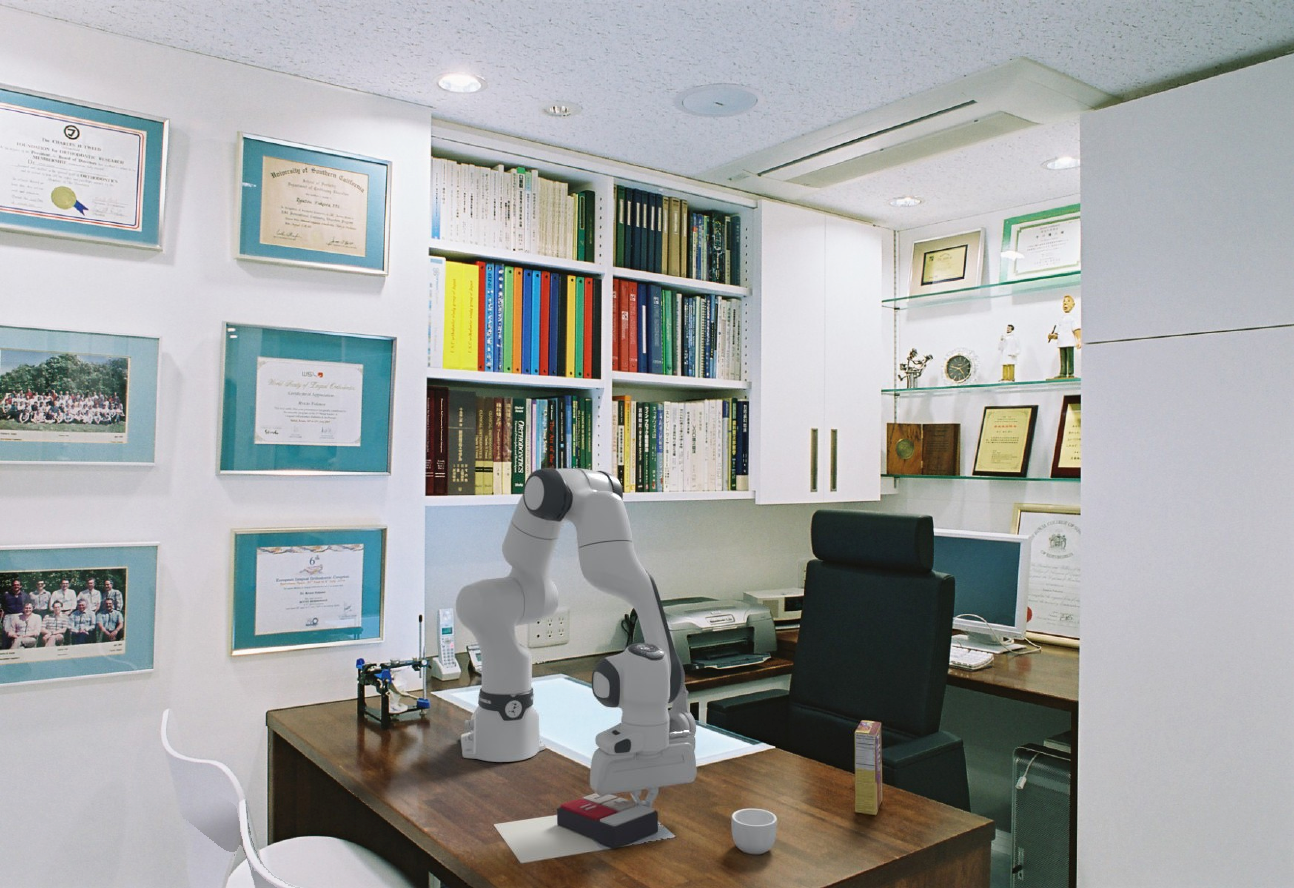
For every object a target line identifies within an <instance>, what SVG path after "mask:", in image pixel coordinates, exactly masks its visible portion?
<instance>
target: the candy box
mask: <svg viewBox="0 0 1294 888" xmlns="http://www.w3.org/2000/svg"><path fill="white" fill-rule="evenodd" d="M882 744H883V743H882V722H880V721H872V720H861V721H860V723H859V724H858V726H857V728H856V729H855V732H854V804H855V805H854V812H855V813H858V814H864V815H871V816H877V814H878V811H879V809H880V806H881V803H882V800H883V773H882V772H883V763H882V762H883V760H882V759H883V758H882V757H883V756H882V755H883V754H882V750H883V749H882V746H883V745H882Z"/></svg>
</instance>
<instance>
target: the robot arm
mask: <svg viewBox="0 0 1294 888" xmlns="http://www.w3.org/2000/svg"><path fill="white" fill-rule="evenodd" d="M623 490H624V489H623V486H622V484H621V483H620V480H619V479H618V478H617V476H615V475H613V474H612V473H609V472H606V471H602V470H594V469H587V468H579V467H573V468H553V467H545V468H539V469H537V470H534V471H532V472H531V473H530V474H529V475H528V476H527V479H526V481H525V482H524V486H523V491H522V495H521V496H520V499H519V501H518V503H517V504H516V507H515V509H514V512H513V514H512V517H511V520H510V523H509V525H508V528H507V531H506V534H505V537H504V539H503V543H502V546H501V553H502V555H503V558H504V560H505V561H506V563H508V565H510V566H511V570H510V573H509V574H508V575H507V576H506V577H505V576H504V577H497V578H495V577H494V578H486V579H481V580H478V581H474V582H472V583H469V584H467V585H465V586H463V587H462V588H461V589H460V590H459V592H458V594H457V596H456V601H455V611H456V616H457V618H458V620H459V622H460V623H461V624H462V626H464V627H465V628H466V629H468V630H469V631H470V632H471V633H472V635H473V636H474V638H475V640H476V642H477V646H478V647H479V652H480V661H481V687H480V689H479V693H478V697H477V699H478V701H477V704H478V706H477V708H475V710H474V712H472V714H471V717H470V719H469V720H468V719H467V720H464V732H465V733H462V734H461V735H460V745H461V755H462V757H463V758H465V759H477V760H481V761H486V762H493V763H495V762H496V763H503V762H504V763H505V762H506V763H508V762H509V763H510V762H518V761H523V760H527V759H529V758H530V759H531V758H533V757H534V756H535V755H537V754H538V753H540V752H541V751H543V750H546V749H547V747H546V742H543V741H542V740H541V739H540V735H541V734H540V732H541V731H540V715H539V713H540V712H538V711H537V710H536V709H535V708H534V707H533V705H534V699H535V697H534V696H535V694H534V688H533V686H532V682H533V681H532V679H533V678H532V675H533V656H532V653H531V651H530V650H529V649H528V648H527V647H526V646H525V645H524V644H522V643H520V642H518V639H517V636H516V631H515V629H516V626H525V625H529V624H536V623H538V622H541V621H542V620H545V619H548V618H550V617H552V616H554V614H555V613H556V610H557V608H558V606H559V603H560V602H559V601H560V600H559V597H560V596H559V595H560V594H559V591H558V588H557V586H556V584H555V583H554V581H553V580H552V579H551V577H550V566H551V561H552V558H553V556H554V553H555V550H556V546H557V543H558V542H559V541H558V540H559V538H560V535H561V532H562V530H563V527H564V523H565V522H571V523H572V524H573V525H574V527H575V531H576V539H577V540H576V541H577V542H576V543H577V551H578V560H579V561H578V562H579V566H580V570H581V574H582V575H583V578H584V579H585V580H586V581H587V583H589V584H590V586H592V587H593V588H595V589H597V590H599V591H600V592H603V593H605V594H608V595H611V596H614V597H616V598H619V599H622V600H623V601H625V602H626V603H628V604H629V605H630V606H631V607H632V608H633V609H634V610H635V612H636V615H637V618H638V621H639V625H640V629H641V632H642V636H643V638H644V642H638V643H637V642H636V643H632V644H629V645H628V646H626V648H625V650H624V651H623V652H620V653H618V654H614V655H610V656H606V657H602V658H601V659H600V660H599V661H598V662H597V663H596V665H595V666H594V669H593V670H592V674H591V690H592V694H593V696H594V698H595V699H596V700H597V701H598V702H599V703H600V704H601V705H603V706H604V707H606V708H613V709H615V708H619V709H621V719H620V720H621V721H620V723H618V724H615V725H614V726H612V727H610V728H608V729H606V730H603V731H602V732H599V733H598V734H596V736H595V740H594V741H595V744H596V746H597V749H595V751H594V752H593V754H592V757H591V763H590V771H589V772H590V773H589V786H590V788H591V790H593V792H594V793H597V794H598V795H600V796H602V795H609V794H610V795H614V794H621V793H627V792H628V793H629V794H630V796H631V798H632V799H633V800H632V801H633V802H636V803H638V805H643V806H646V807H649V808H652V809H653V803H654V802H655V800H656V798H657V797H658V794H659V789H660V788H662V787H669V786H670V787H671V786H675V785H683V784H688V783H689V784H690V783H694V781H695V779H696V778H697V760H696V753H695V750H696V737H695V736H694V735H693V734H692V733H689V732H688V731H681V732H669V720H670V719H669V713H668V711H669V704H670V703H671V704H672V703H673V701H674V700H675V699H676V697H677V696H678V695H679V693H680V692H681V690H682V688H683V685H684V684H685V681H686V678H685V677H686V675H685V670H684V666H683V664H682V661H681V659H680V657H679V654H678V653H677V650H676V647H675V645H674V641H673V639H672V636H671V635H672V634H671V631H670V628H669V624H668V620H667V617H666V614H665V610H664V607H663V602H662V600H661V597H660V593H659V590H658V587H657V584H656V581H655V579H654V577H653V575H652V574H651V573H650V572H649V571H648V570H646V569H645V567H644V566H643V565H642V564H641V562H640V560H639V557H638V556H637V553H636V550H635V546H634V539H633V533H632V528H631V523H630V519H629V515H628V511H627V508H626V506H625V502H624V498H623V496H624V493H623ZM689 735H691V736H689ZM643 790H647V791H648V792H647V795H646V797H645V799H644V800H643V799H640V796H642V791H643Z"/></svg>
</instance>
